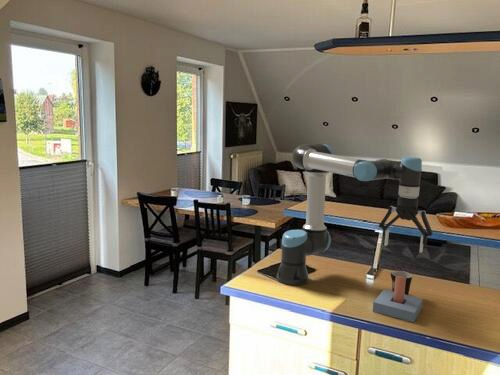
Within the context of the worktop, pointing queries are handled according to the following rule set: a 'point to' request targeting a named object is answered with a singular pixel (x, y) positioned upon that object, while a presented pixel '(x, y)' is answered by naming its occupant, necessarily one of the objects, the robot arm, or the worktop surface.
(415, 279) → the worktop surface
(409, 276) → the coffee mug
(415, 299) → the socket slab
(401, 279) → the peg
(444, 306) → the worktop surface
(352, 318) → the worktop surface
